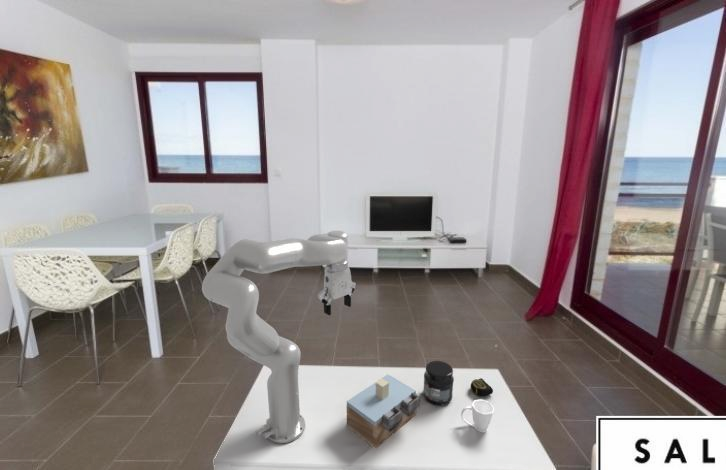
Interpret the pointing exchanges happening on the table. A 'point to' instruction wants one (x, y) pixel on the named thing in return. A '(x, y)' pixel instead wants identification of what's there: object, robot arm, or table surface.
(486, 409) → the cup
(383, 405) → the door
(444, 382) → the supplement container
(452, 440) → the table surface
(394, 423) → the cabinet
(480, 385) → the tape measure
